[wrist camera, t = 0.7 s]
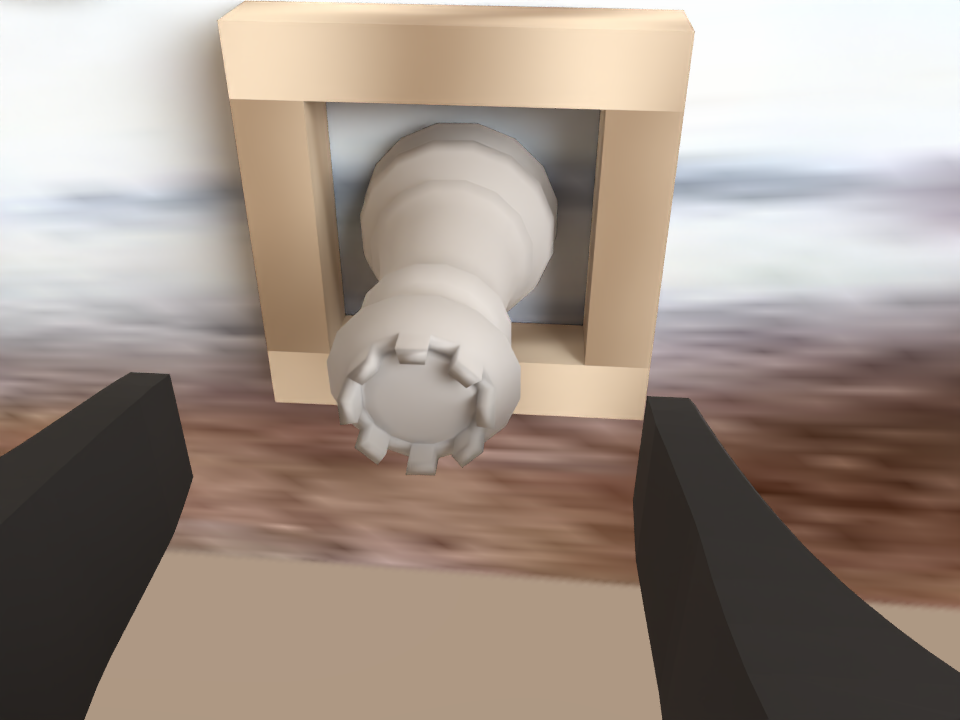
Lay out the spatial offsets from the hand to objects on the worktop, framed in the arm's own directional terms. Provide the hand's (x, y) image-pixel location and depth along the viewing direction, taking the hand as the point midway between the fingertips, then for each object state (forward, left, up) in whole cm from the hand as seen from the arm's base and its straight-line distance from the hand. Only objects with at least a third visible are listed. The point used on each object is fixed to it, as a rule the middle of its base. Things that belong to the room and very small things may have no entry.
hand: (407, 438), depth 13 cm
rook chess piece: (0, 0, -9) cm, 9 cm away
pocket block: (0, 0, -9) cm, 9 cm away
